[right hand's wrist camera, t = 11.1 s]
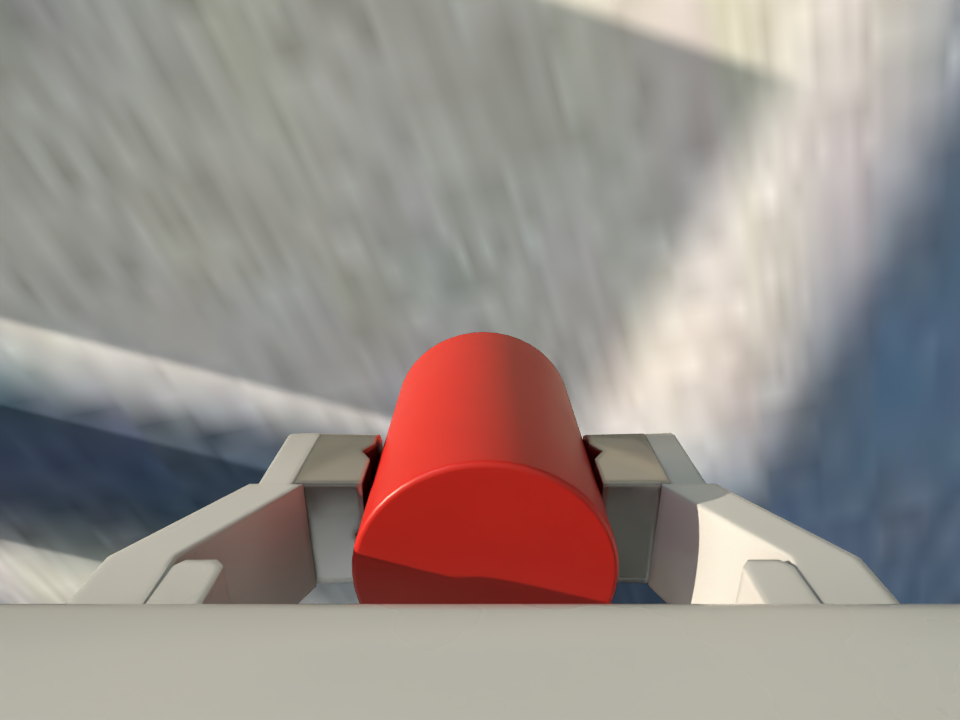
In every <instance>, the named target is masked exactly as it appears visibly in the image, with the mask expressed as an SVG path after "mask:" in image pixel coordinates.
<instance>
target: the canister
mask: <svg viewBox="0 0 960 720" xmlns="http://www.w3.org/2000/svg"><path fill="white" fill-rule="evenodd" d="M618 576H619V557H618V548H617V545H616V541H615V538H614V534H613V531H612V528H611V525H610V522H609V519H608V516H607V513H606V510H605V507H604V504H603V501H602V498H601V495H600V492H599V489H598V486H597V482H596V479H595V476H594V473H593V470H592V467H591V464H590V461H589V458H588V455H587V452H586V449H585V446H584V443H583V440H582V437H581V434H580V431H579V427H578V424H577V421H576V418H575V415H574V412H573V409H572V406H571V403H570V400H569V397H568V394H567V391H566V388H565V385H564V382H563V380H562V378H561V376H560V374H559V372H558V371H557V369H556V368H555V366H554V365H553V364H552V363H551V362H550V360H549V359H548V358H547V357H546V356H545V355H544V354H542V353H541V352H540V351H539V350H538V349H536V348H534V347H533V346H531V345H530V344H528V343H526V342H524V341H522V340H520V339H517V338H514V337H511V336H508V335H504V334H499V333H489V332H478V333H469V334H463V335H459V336H456V337H453V338H450V339H447V340H445V341H443V342H441V343H439V344H437V345H436V346H434V347H432V348H431V349H429V350H428V351H427V352H426V353H425V354H423V355H422V356H421V357H420V358H419V359H418V360H417V361H416V363H415V364H414V365H413V366H412V368H411V369H410V371H409V372H408V374H407V376H406V378H405V380H404V382H403V385H402V388H401V391H400V394H399V397H398V401H397V404H396V407H395V411H394V414H393V417H392V421H391V424H390V427H389V431H388V434H387V437H386V441H385V444H384V447H383V451H382V454H381V457H380V461H379V464H378V467H377V471H376V474H375V477H374V481H373V484H372V487H371V491H370V494H369V497H368V501H367V504H366V507H365V511H364V514H363V517H362V521H361V524H360V527H359V531H358V534H357V537H356V541H355V544H354V549H353V555H352V577H353V583H354V588H355V591H356V594H357V597H358V600H359V603H360V604H611V601H612V599H613V596H614V593H615V590H616V585H617V581H618Z"/></svg>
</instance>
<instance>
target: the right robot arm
mask: <svg viewBox="0 0 960 720" xmlns="http://www.w3.org/2000/svg"><path fill="white" fill-rule="evenodd" d="M583 443H584V446H585V449H586V452H587V455H588V458H589V461H590V464H591V467H592V470H593V473H594V476H595V479H596V482H597V486H598V489H599V492H600V495H601V498H602V501H603V504H604V507H605V510H606V513H607V516H608V519H609V522H610V525H611V528H612V531H613V534H614V538H615V541H616V545H617V548H618V557H619V576H618V581H617V582H618V583H649V584H648V586H649V587H650V588H651V589H652V590H653V591H654V592H656V593H657V594H658V595H659V596H660V597H661V598H662V599H663V600H664V601H665V602H666V603H667V604H298V603H299V602H300V601H301V600H302V599H303V598H304V597H305V596H306V595H307V594H308V593H310V592H311V591H312V590H313V589H314V588H315V587H316V583H345V582H353V577H352V555H353V549H354V544H355V541H356V537H357V534H358V531H359V527H360V524H361V521H362V517H363V514H364V511H365V507H366V504H367V501H368V497H369V494H370V491H371V487H372V484H373V481H374V477H375V474H376V471H377V467H378V464H379V461H380V457H381V454H382V451H383V446H382V440H381V437H380V435H360V434H321V433H307V434H291V435H289V436H288V438H287V440H286V441H285V443H284V444H283V446H282V448H281V449H280V451H279V452H278V454H277V455H276V457H275V459H274V460H273V462H272V463H271V465H270V467H269V468H268V470H267V471H266V473H265V475H264V476H263V478H262V479H261V481H260V483H259V484H248V485H247V486H245V487H243V488H241V489H239V490H237V491H235V492H233V493H231V494H229V495H227V496H225V497H223V498H221V499H219V500H217V501H215V502H213V503H212V504H210V505H208V506H206V507H204V508H202V509H200V510H198V511H196V512H194V513H192V514H190V515H188V516H186V517H184V518H182V519H180V520H179V521H177V522H175V523H173V524H171V525H169V526H167V527H165V528H163V529H161V530H159V531H157V532H155V533H153V534H151V535H149V536H147V537H145V538H144V539H142V540H140V541H138V542H136V543H134V544H132V545H130V546H128V547H126V548H124V549H122V550H120V551H118V552H116V553H114V554H112V555H111V556H109V557H107V558H106V559H105V560H104V562H103V563H102V564H101V565H100V566H99V567H98V568H97V570H96V571H95V572H94V573H93V574H92V575H91V576H90V578H89V579H88V580H87V581H86V582H85V583H84V584H83V586H82V587H81V588H80V589H79V590H78V591H77V592H76V594H75V595H74V596H73V597H72V598H71V599H70V600H69V602H68V603H67V604H0V720H960V604H900V603H899V602H898V601H897V599H896V598H895V597H894V596H893V595H892V594H891V593H890V591H889V590H888V589H887V588H886V587H885V586H884V585H883V583H882V582H881V581H880V580H879V579H878V578H877V577H876V576H875V574H874V573H873V572H872V571H871V570H870V569H869V568H868V566H867V565H866V564H865V563H864V562H863V561H862V560H861V558H859V557H857V556H855V555H853V554H851V553H849V552H847V551H845V550H844V549H842V548H840V547H838V546H836V545H834V544H832V543H830V542H828V541H826V540H824V539H822V538H820V537H818V536H816V535H814V534H812V533H810V532H808V531H806V530H804V529H803V528H801V527H799V526H797V525H795V524H793V523H791V522H789V521H787V520H785V519H783V518H781V517H779V516H777V515H775V514H773V513H771V512H769V511H767V510H765V509H763V508H762V507H760V506H758V505H756V504H754V503H752V502H750V501H748V500H746V499H744V498H742V497H740V496H738V495H736V494H734V493H732V492H730V491H728V490H726V489H724V488H722V487H721V486H719V485H717V484H706V483H705V481H704V480H703V478H702V477H701V475H700V473H699V472H698V470H697V469H696V467H695V466H694V464H693V463H692V461H691V460H690V458H689V457H688V455H687V453H686V452H685V450H684V449H683V447H682V446H681V444H680V443H679V441H678V440H677V438H676V437H675V435H673V434H671V433H660V434H609V435H585V436H583Z"/></svg>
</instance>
